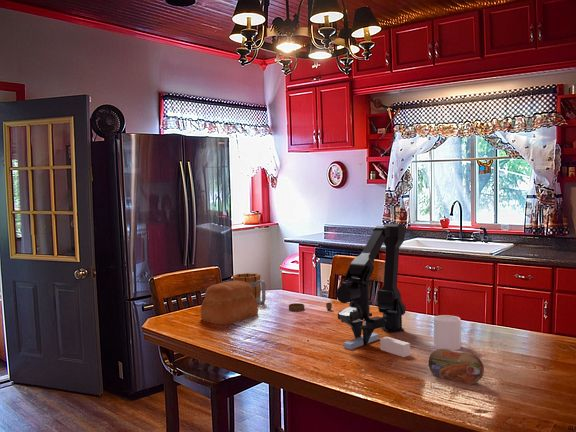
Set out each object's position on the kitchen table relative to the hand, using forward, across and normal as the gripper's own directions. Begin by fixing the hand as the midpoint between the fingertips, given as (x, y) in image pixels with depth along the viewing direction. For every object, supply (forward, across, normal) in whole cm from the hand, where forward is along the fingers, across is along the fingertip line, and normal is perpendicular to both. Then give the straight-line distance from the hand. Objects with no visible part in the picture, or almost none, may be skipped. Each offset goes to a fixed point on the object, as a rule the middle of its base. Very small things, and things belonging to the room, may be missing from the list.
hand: (361, 343), depth 177 cm
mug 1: (+1, -80, +4) cm, 80 cm away
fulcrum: (+1, +14, +1) cm, 14 cm away
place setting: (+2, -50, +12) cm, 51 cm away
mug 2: (+1, +20, +21) cm, 29 cm away
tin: (+2, +40, -2) cm, 40 cm away
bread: (+2, -62, -18) cm, 64 cm away
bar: (+1, 0, 0) cm, 1 cm away
